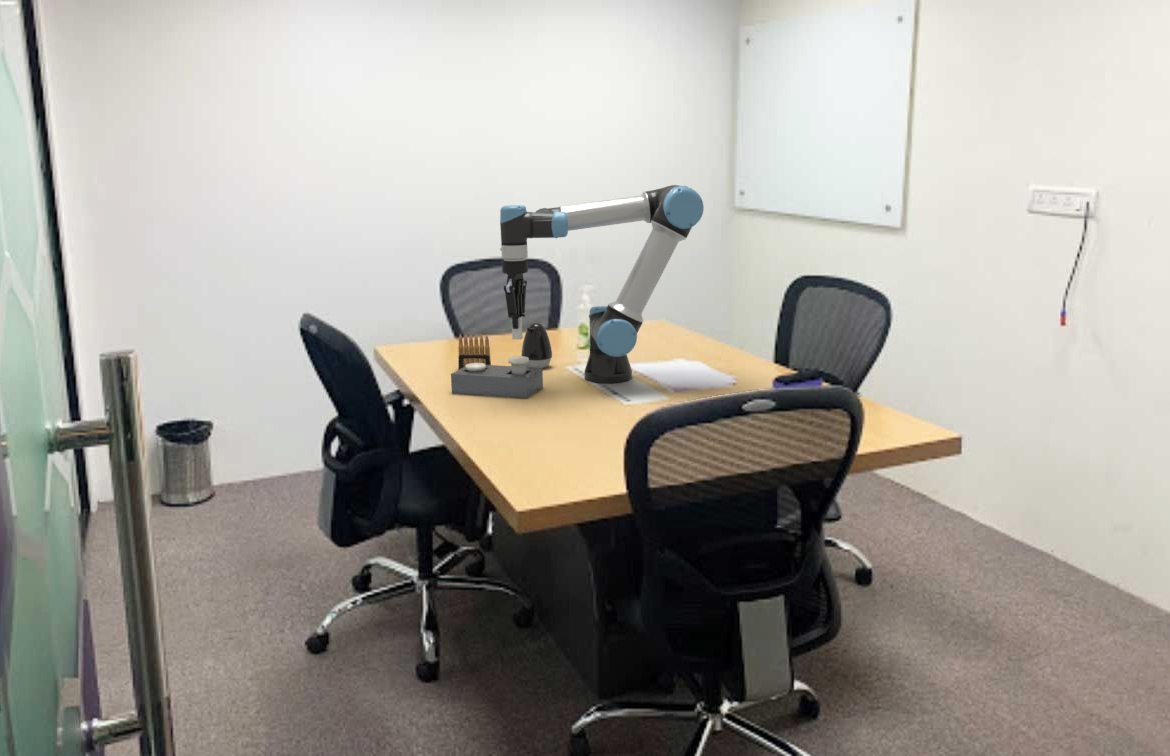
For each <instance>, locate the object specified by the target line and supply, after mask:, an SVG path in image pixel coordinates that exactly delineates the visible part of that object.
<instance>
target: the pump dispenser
mask: <svg viewBox="0 0 1170 756" xmlns="http://www.w3.org/2000/svg"><path fill="white" fill-rule="evenodd" d="M521 346H522V347H521V356H525V357H528V358H529V362H528V363H526V367H531V368H543V369H545V368H547V367H548V366H549V365H550V363H551V360H552V358H553V351H552V350H553V349H552V346H551V341H550V337H549V335H548V332H547V330H546V328H545V327H544V325H543V324H542V323H540V322H533V323H531V324H530V325H529V326H528V327H526V331H525V334H524V338H523V342H522V345H521Z"/></svg>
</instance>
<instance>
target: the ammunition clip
mask: <svg viewBox="0 0 1170 756" xmlns="http://www.w3.org/2000/svg"><path fill="white" fill-rule="evenodd" d="M484 337H485V338H484ZM468 338H469V339H468ZM473 339H474V340H473ZM484 339H485V341H484ZM490 348H491V347H490V340H489V335H488V334H487V333H486V334H485V336H483V334H480V336H479V338H478V335H477V334H475V335H474V338H473V335H472V333H470V334H469V337H468V336H467V334H464V338H463V336H462V334H461V333H460V334H459V337H458V365H457V366H458V367H457V368H458V369H457V370H459V369H461V368H463V367H465V366H466V364H470V363H484V364H485V365H492V364H491V363H492V362H491V361H492V360H491V353H490V351H491V349H490Z"/></svg>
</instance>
